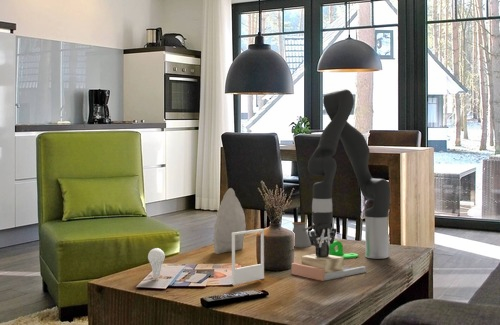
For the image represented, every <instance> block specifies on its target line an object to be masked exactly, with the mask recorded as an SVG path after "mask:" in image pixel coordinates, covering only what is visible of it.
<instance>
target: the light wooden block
mask: <svg viewBox="0 0 500 325" xmlns="http://www.w3.org/2000/svg"><path fill="white" fill-rule="evenodd" d="M318 244H319V242H318ZM321 247H322V257H316V253H311V254H307V255H302V256H301V264H302V265H307V266H311V267H316V268H321V269H325V274H326V273H331V272H336V271H341V270H344V267H345V265H344V263H345V261H344V260H345V259H344V257H339V256H334V255H329V256H327V243H323V242H322V245H321Z"/></svg>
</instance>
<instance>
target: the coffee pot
mask: <svg viewBox="0 0 500 325" xmlns="http://www.w3.org/2000/svg"><path fill="white" fill-rule="evenodd" d="M306 224H307V222H306V221H294V222H292V225H293V229H292V231H293V232H294V233H295V247H294V248H308V247H311V246H312V245H311V242H310V239H309V236H308V231H309V229H313V227H314V224H312V225H310V226H308V227H306Z"/></svg>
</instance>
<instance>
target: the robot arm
mask: <svg viewBox="0 0 500 325" xmlns="http://www.w3.org/2000/svg"><path fill="white" fill-rule="evenodd" d="M322 103H323V106H324V110H325V112H326V115H327V116H328V118H329V120H330V122H329V123H328V124H327V126H326V127H325V128H324V130H323V131H322V133H321V136H320V138H319V141H318V145H317V147H316V149H315V150H314V152H313V153H312V155H311V156H310V158H309V160H308V164H307V170H308V173H309V174H310V175H311V176H314V177H317V176H318V177H324V179H323V180H322V181H317V182H314V184H313V185H312V201H311V217H312V218H311V219H312V223H313V225H314V227H313V228H312V229H311V230H307V234H308V236H309V239H310V242H311V245H312V246H313V247H314V248H315V254H316V257H322V247H321V245H322V243H327V256H329V246H330V244H333V242H334V241H335V238H336V234H337V232H338V231H337V228H333V226H332V224H333V197H332V194H333V191H332V190H333V183H334V179H335V176H336V172H337V161H336V160H335V158H333V156H334V155H336V152H337V149H338V146H339V145H338V144H339V142H340V141H341V143H342V146H343V148H344V152H346V153H345V154H346V156H347V157H348V160H349V161H350V164H351V166H352V169H353V172H354V174H355V177H356V179H357V184H358V186H359V189H360V192H361V194H362V197H363V198H365V199H366V200H369V201H373V204H372V206H371V207H369V208H367V209H366V210H365V213H364V214H365V217H364V218H365V219H364V220H365V229H364V230H365V236H364V237H365V240H364V241H365V251H364V252H365V255H364V257H366V258H368V259H387V258H388V257H390V234H389V233H388V232H389V230H388V229H389V228H388V224H389V222H388V220H389V216H388V213H389V211H390V202H391V200H390V199H391V188H390V183H389V182H388V180H386V179H385V178H374V177H373V176H372V175H371V172H370V170H369V161H370V156H371V155H370V152H371V151H370V148H369V145H368V142H367V141H366V137H365V136H364V135H363V134H362V132H360V131H359V130H358V129H357V128H355V127H354V126H353V125H352V124H350V123H349V122H348V120H349V118H350V115H351V114H352V110H353V109H354V105H355V98H354V95H353V93H352V92H351V90H349V89H340V90H335V91H330V92H328V93H327V92H326V93H325V94H324V96H323V98H322ZM318 243H319V244H318Z"/></svg>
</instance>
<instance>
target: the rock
mask: <svg viewBox="0 0 500 325" xmlns="http://www.w3.org/2000/svg"><path fill="white" fill-rule="evenodd" d="M213 227H214V232H213V237H212V243H213V248H214V254H217V255H218V254H223V253H226V252H232V233H234V232H242V231H247V230H246V227H247V224H246V216H245V212H244V209H243V207H242V205H241V202H240V201H239V199H238V197H237V196H236V193H235V190H234V189H233V188H232V187H230V188H228V189H227V191H226V192H225V193H224V194H223V198H222V200H221V201H220V206H218V210H217V212H216V219H215V223H214V225H213ZM245 234H246V233H245ZM245 234H238V235H235V251H238V250H242V249H243V248H244V241H245V240H244V239H245Z"/></svg>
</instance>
